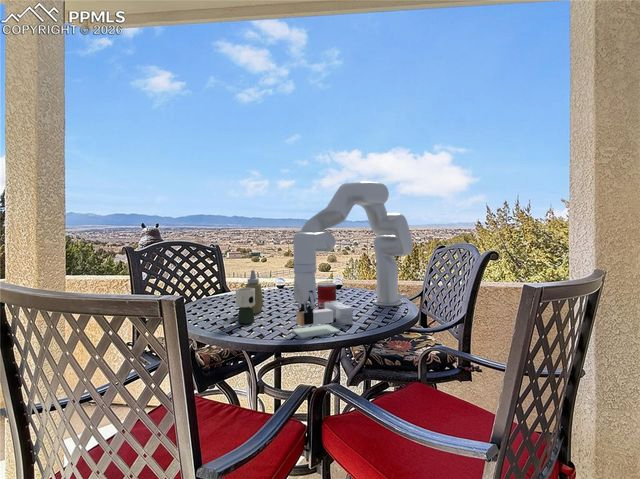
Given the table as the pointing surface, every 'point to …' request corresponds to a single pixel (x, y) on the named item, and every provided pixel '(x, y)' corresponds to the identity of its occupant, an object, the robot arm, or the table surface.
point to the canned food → (326, 294)
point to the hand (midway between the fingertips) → (306, 321)
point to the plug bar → (316, 317)
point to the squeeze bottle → (256, 292)
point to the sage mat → (315, 331)
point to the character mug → (245, 304)
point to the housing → (340, 312)
